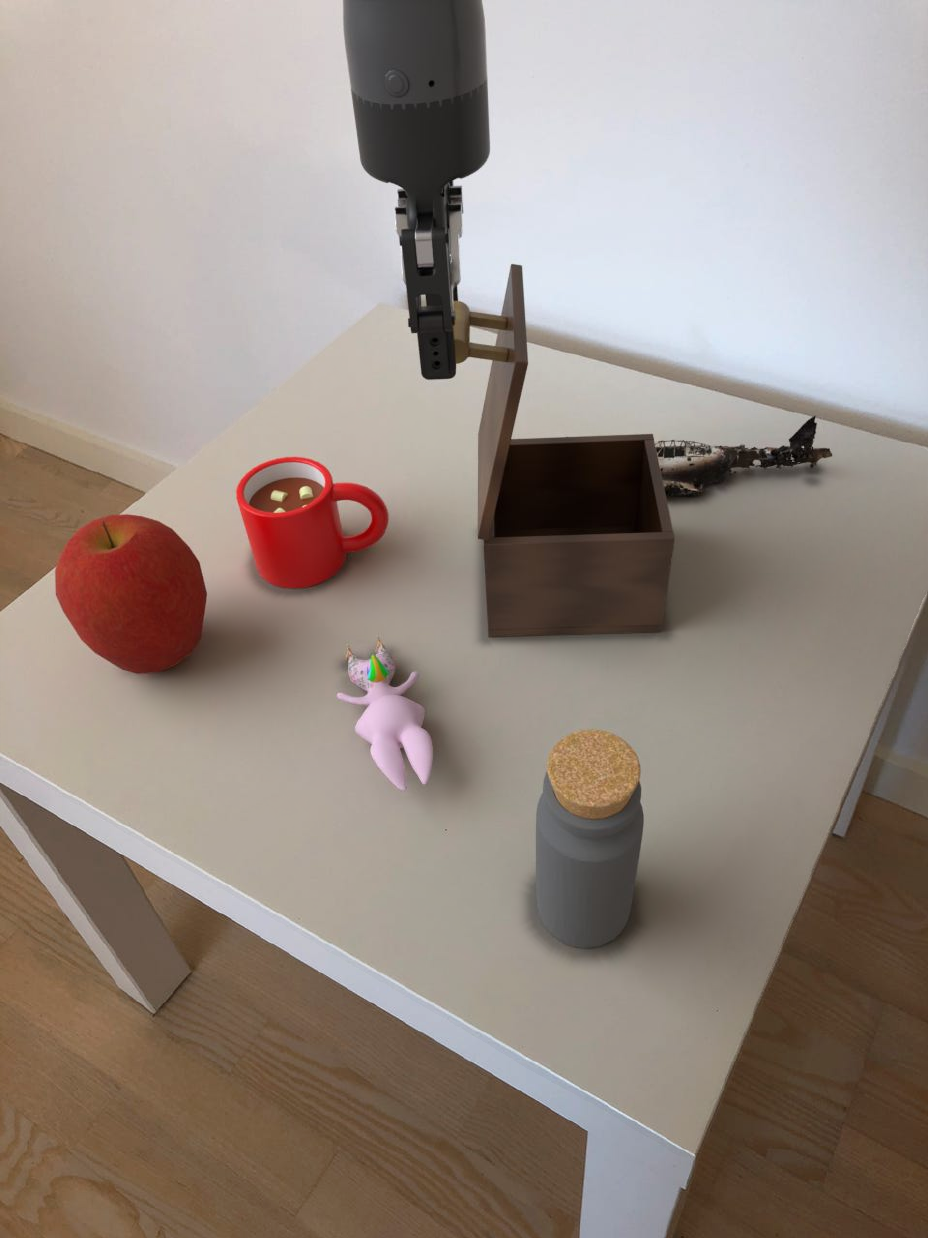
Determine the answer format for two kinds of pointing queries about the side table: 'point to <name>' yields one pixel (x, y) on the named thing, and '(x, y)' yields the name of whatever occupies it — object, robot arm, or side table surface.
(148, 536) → the apple
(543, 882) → the bottle
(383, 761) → the pink creature figurine
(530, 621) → the chest
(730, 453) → the airplane wreck
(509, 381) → the lid
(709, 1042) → the side table surface
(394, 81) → the robot arm
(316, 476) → the mug
